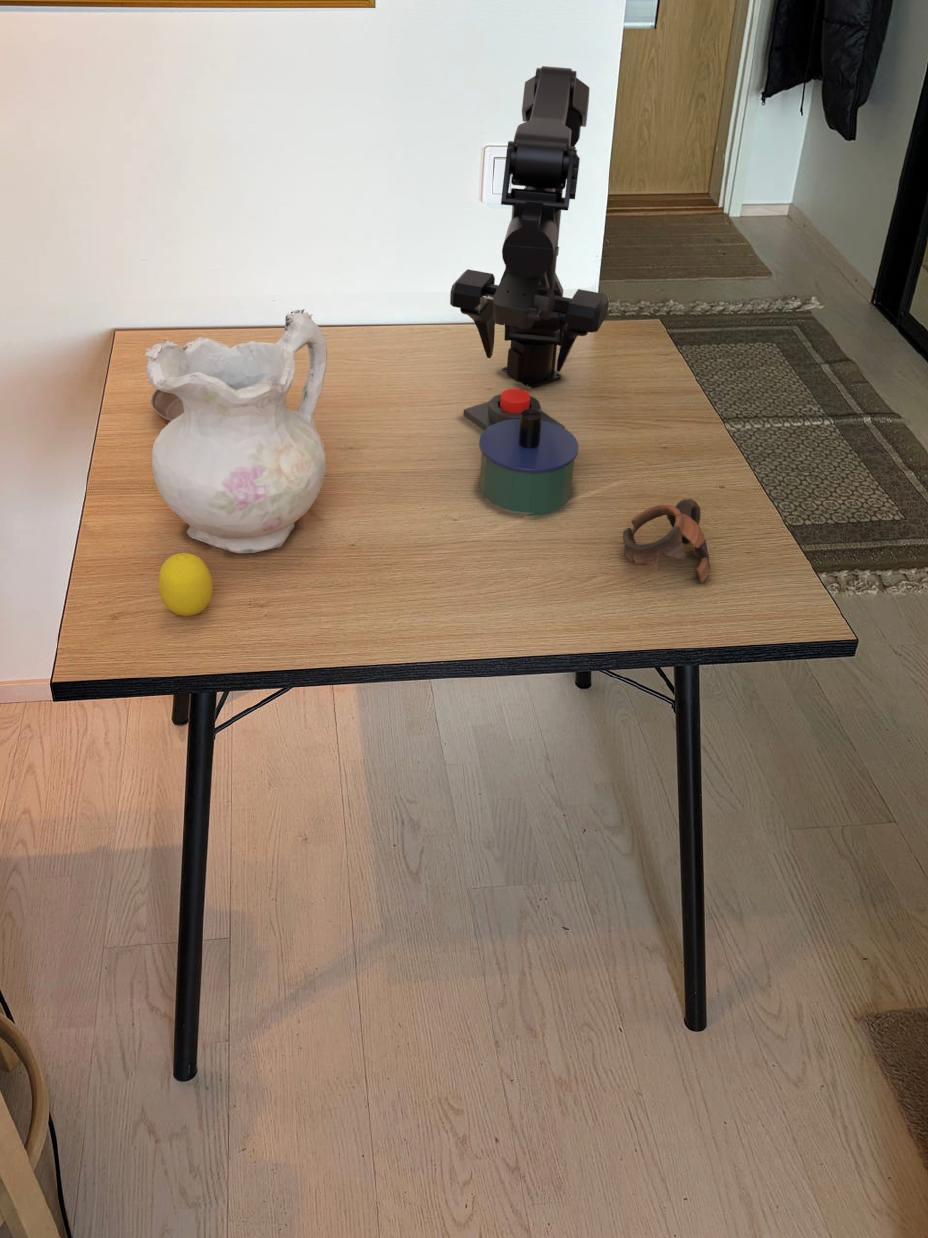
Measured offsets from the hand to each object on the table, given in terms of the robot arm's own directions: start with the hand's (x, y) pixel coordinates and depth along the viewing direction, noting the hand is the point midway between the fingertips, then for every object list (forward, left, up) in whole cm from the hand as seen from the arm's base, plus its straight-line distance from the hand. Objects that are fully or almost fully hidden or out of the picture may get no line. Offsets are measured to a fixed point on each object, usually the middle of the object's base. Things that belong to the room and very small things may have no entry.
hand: (524, 363), depth 148 cm
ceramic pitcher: (+38, -3, -13) cm, 40 cm away
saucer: (+31, -29, -13) cm, 44 cm away
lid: (+6, +9, -6) cm, 12 cm away
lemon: (+52, +9, -13) cm, 54 cm away
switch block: (-3, -5, -12) cm, 13 cm away
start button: (-3, -5, -9) cm, 11 cm away
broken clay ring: (+1, +30, -13) cm, 32 cm away
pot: (+6, +9, -12) cm, 16 cm away
